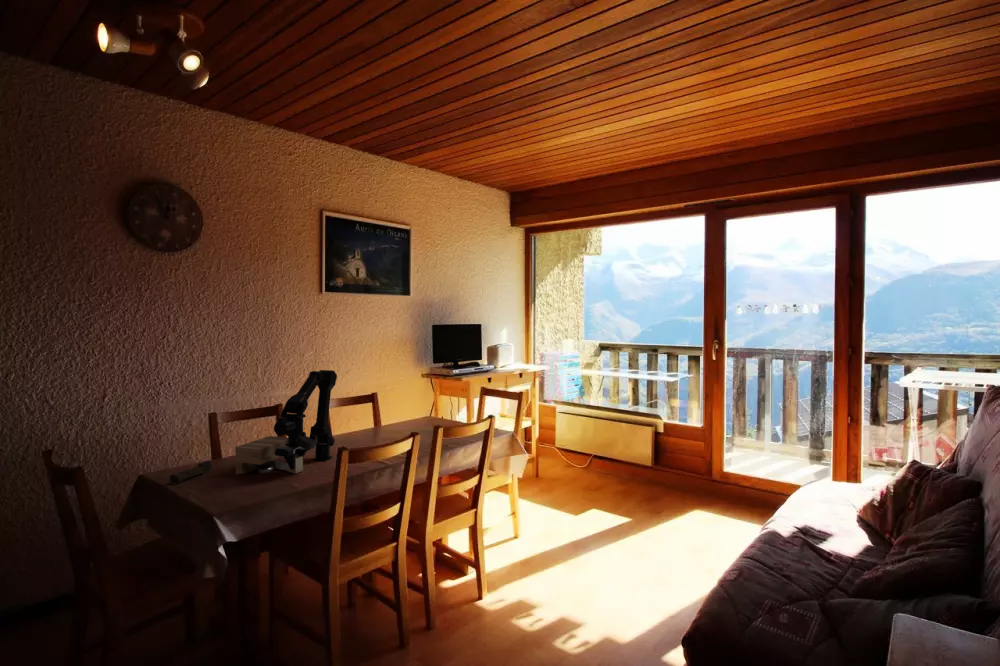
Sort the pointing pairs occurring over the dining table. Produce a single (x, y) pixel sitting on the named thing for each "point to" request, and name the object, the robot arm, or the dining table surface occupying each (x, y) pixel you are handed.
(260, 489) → the dining table surface
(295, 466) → the blade tool
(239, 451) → the beige stepped block
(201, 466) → the hand tool
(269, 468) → the steel token
